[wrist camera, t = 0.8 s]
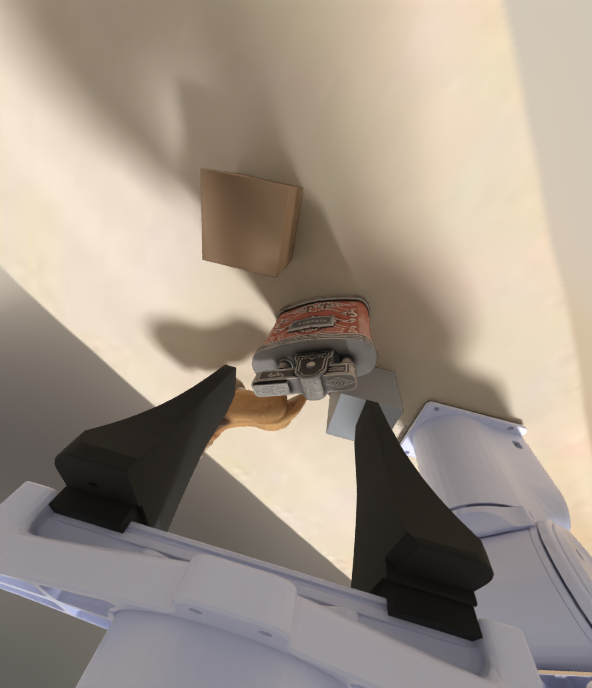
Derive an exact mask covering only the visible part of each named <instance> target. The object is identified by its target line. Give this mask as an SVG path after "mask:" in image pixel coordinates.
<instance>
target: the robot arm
mask: <svg viewBox="0 0 592 688" xmlns="http://www.w3.org/2000/svg"><path fill="white" fill-rule="evenodd" d="M235 383H236V367H232V366H228V365H225V366H223V367H222V368H220V369H219V370H217V371H216V372H214V373H213V374H212V375H210V376H209V377H207V378H206V379H204V380H203V381H201V382H200V383H198V384H197V385H195V386H194V387H192V388H190V389H189V390H187V391H185V392H184V393H182V394H180V395H179V396H177V397H175V398H173V399H171V400H169V401H167V402H165V403H163V404H161V405H159V406H157V407H154V408H152V409H150V410H148V411H145V412H142V413H140V414H138V415H135V416H132V417H130V418H127V419H124V420H121V421H117V422H114V423H111V424H108V425H104V426H100V427H97V428H93V429H89V430H86V431H84V432H83V433H82V434H80V435H79V436H78V437H77V438H76V439H75V440H74V441H73V442H71V443H70V444H69V445H68V446H67V447H66V448H65V449H64V450H63V451H62V452H61V453H59V454H58V455H57V456H56V458H55V466H56V468H57V470H58V472H59V474H60V475H61V477H62V478H63V480H64V482H65V483H66V485H67V486H66V487H65V488H64V489H63V490H62V491H61V492H60V493H59V492H58V491H56V490H55V489H52V488H50V487H47V486H43V485H40V484H37V483H33V482H30V481H28V482H25V483H24V484H23V485H22V486H20V487H19V488H18V489H17V490H16V491H15V492H14V493H13V494H11V495H10V496H9V497H8V498H7V499H6V500H5V501H4V502H3V503H2V504H0V589H3V590H6V591H9V592H12V593H14V594H17V595H20V596H23V597H25V598H28V599H31V600H33V601H36V602H38V603H41V604H44V605H46V606H49V607H51V608H54V609H56V610H59V611H62V612H64V613H67V614H69V615H72V616H74V617H77V618H79V619H82V620H85V621H87V622H89V623H92V624H95V625H97V626H100V627H102V628H105V629H107V632H106V634H105V636H104V637H103V639H102V641H101V643H100V645H99V647H98V648H97V650H96V652H95V654H94V656H93V657H92V659H91V661H90V663H89V664H88V666H87V668H86V670H85V672H84V673H83V675H82V677H81V679H80V681H79V683H78V684H77V686H76V688H592V676H575V675H553V674H539V673H538V671H537V670H556V671H578V672H592V557H591V556H590V554H589V553H588V552H587V551H586V549H585V548H584V547H583V546H582V545H581V543H580V542H579V541H578V540H577V539H576V538H575V537H574V536H573V535H572V534H571V533H570V527H571V524H570V515H569V510H568V507H567V504H566V502H565V500H564V497H563V496H562V494H561V492H560V491H559V489H558V488H557V486H556V485H555V484H554V482H553V481H552V479H551V478H550V476H549V475H548V473H547V472H546V471H545V469H544V468H543V466H542V465H541V463H540V462H539V460H538V459H537V457H536V456H535V455H534V453H533V452H532V450H531V449H530V447H529V446H528V444H527V443H526V442H525V440H524V439H523V437H522V436H523V435H524V434H525V433H526V432H527V429H526V427H525V426H523V425H520V424H516V423H512V422H509V421H505V420H501V419H497V418H493V417H490V416H486V415H482V414H478V413H474V412H470V411H467V410H463V409H459V408H455V407H451V406H448V405H444V404H440V403H436V402H427V403H426V404H425V406H424V407H423V409H422V410H421V412H420V413H419V415H418V416H417V418H416V419H415V421H414V423H413V424H412V426H411V427H410V429H409V430H408V432H407V433H406V435H405V436H404V438H403V440H402V441H401V443H399V442H398V440H397V438H396V436H395V434H394V433H393V431H392V429H391V427H390V425H389V423H388V421H387V419H386V417H385V415H384V413H383V411H382V409H381V407H380V405H379V403H378V402H374V401H370V400H366V402H365V404H364V407H363V409H362V412H361V414H360V416H359V419H358V421H357V423H356V427H355V442H354V445H355V464H356V481H357V507H356V528H355V544H354V558H353V570H352V583H351V588H350V587H346V586H343V585H340V584H337V583H334V582H330V581H327V580H324V579H320V578H317V577H313V576H310V575H307V574H304V573H301V572H297V571H294V570H291V569H287V568H284V567H281V566H277V565H274V564H270V563H268V562H264V561H261V560H258V559H254V558H251V557H248V556H244V555H241V554H237V553H234V552H231V551H228V550H225V549H221V548H218V547H215V546H211V545H208V544H205V543H202V542H198V541H195V540H191V539H188V538H185V537H182V536H178V535H175V534H172V533H168V532H167V531H168V529H169V526H170V524H171V522H172V519H173V517H174V515H175V512H176V510H177V507H178V505H179V503H180V501H181V498H182V496H183V494H184V492H185V489H186V487H187V485H188V483H189V481H190V478H191V476H192V474H193V472H194V469H195V468H196V466H197V464H198V461H199V459H200V457H201V455H202V453H203V451H204V450H205V448H206V446H207V444H208V443H209V441H210V439H211V438H212V436H213V434H214V433H215V431H216V430H217V428H218V426H219V425H220V423H221V421H222V420H223V418H224V416H225V415H226V413H227V411H228V409H229V407H230V405H231V403H232V401H233V398H234V396H235ZM435 407H438V408H435ZM407 455H408V456H412V457H415V458H416V460H417V464H418V468H419V472H418V471H417V469H416V468H415V467H414V465H413V464H412V462H411V461H410V459H409V458H408V456H407Z"/></svg>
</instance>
